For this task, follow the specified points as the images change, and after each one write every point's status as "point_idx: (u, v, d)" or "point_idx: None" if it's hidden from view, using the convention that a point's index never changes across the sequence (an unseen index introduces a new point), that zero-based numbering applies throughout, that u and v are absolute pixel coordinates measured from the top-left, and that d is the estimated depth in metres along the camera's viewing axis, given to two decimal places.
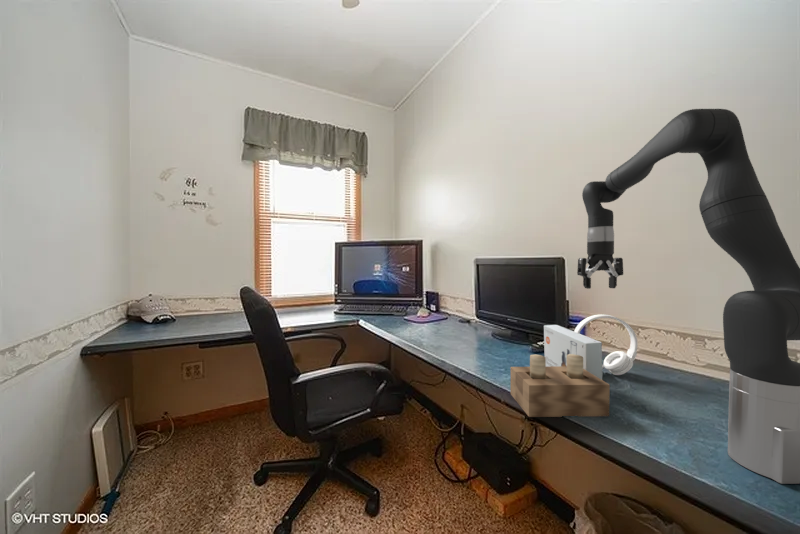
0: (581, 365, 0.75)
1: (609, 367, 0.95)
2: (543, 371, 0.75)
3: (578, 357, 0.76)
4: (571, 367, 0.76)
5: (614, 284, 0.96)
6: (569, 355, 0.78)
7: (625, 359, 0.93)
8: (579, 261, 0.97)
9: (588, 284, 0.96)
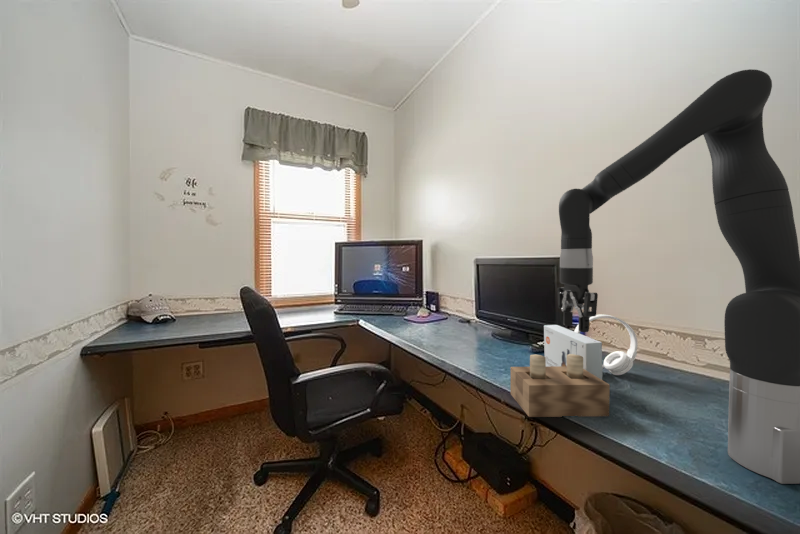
0: (581, 365, 0.75)
1: (609, 367, 0.95)
2: (543, 371, 0.75)
3: (578, 357, 0.76)
4: (571, 367, 0.76)
5: None
6: (569, 355, 0.78)
7: (625, 359, 0.93)
8: (591, 298, 0.69)
9: None
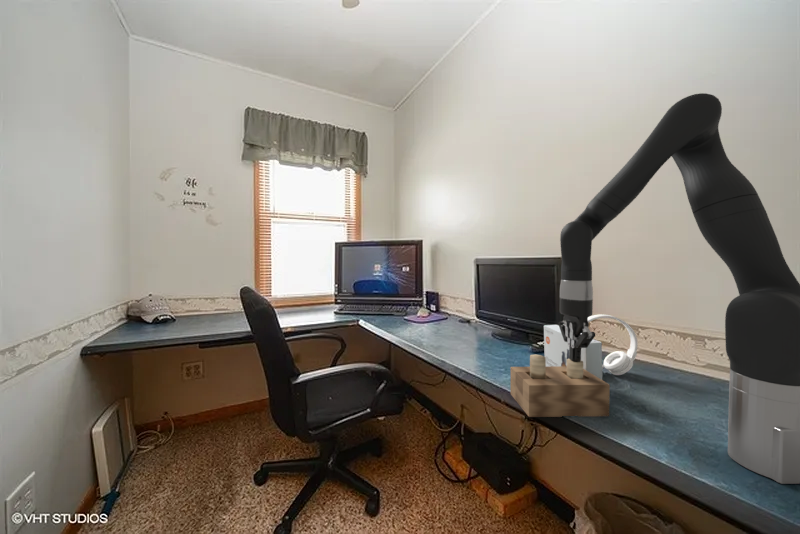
0: (581, 370, 0.75)
1: (609, 367, 0.95)
2: (543, 371, 0.75)
3: None
4: (571, 371, 0.76)
5: None
6: (569, 359, 0.78)
7: (625, 359, 0.93)
8: (587, 338, 0.71)
9: None
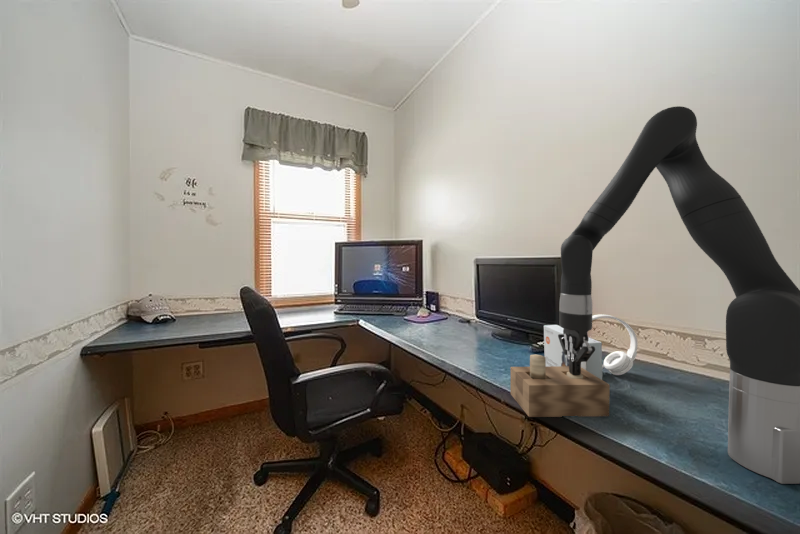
0: None
1: (609, 367, 0.95)
2: (543, 371, 0.75)
3: (578, 375, 0.76)
4: None
5: None
6: (569, 373, 0.78)
7: (625, 359, 0.93)
8: (587, 352, 0.71)
9: None
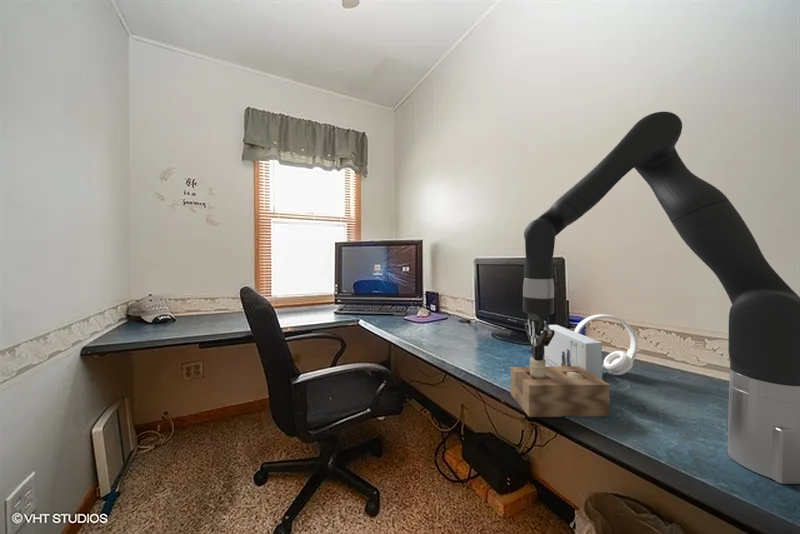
0: None
1: (609, 367, 0.95)
2: (543, 373, 0.75)
3: (578, 375, 0.76)
4: None
5: None
6: (569, 373, 0.78)
7: (625, 359, 0.93)
8: (547, 336, 0.71)
9: None
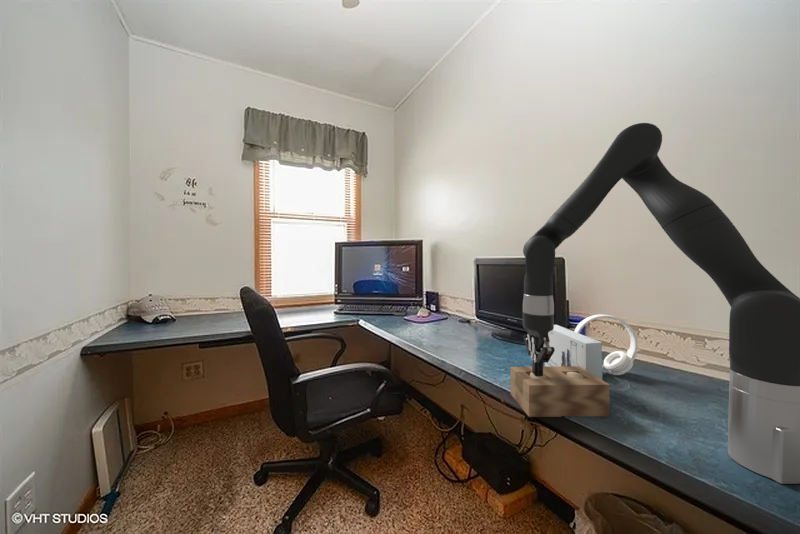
0: None
1: (609, 367, 0.95)
2: None
3: (578, 375, 0.76)
4: None
5: None
6: (569, 373, 0.78)
7: (625, 359, 0.93)
8: (547, 353, 0.71)
9: None
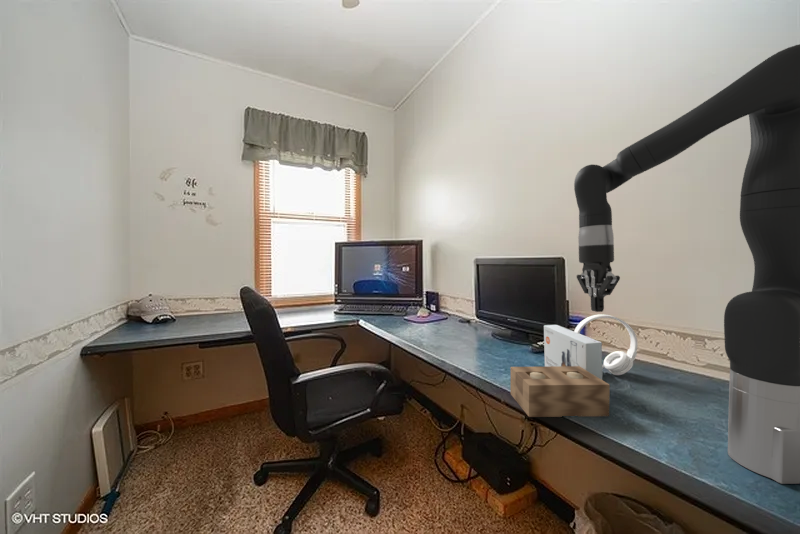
0: None
1: (609, 367, 0.95)
2: None
3: (578, 375, 0.76)
4: None
5: None
6: (569, 373, 0.78)
7: (625, 359, 0.93)
8: (611, 282, 0.68)
9: None
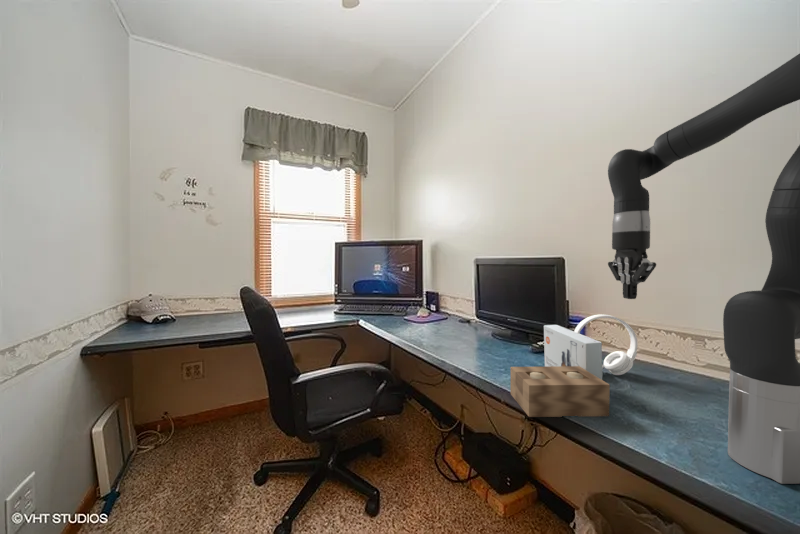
0: None
1: (609, 367, 0.95)
2: None
3: (578, 375, 0.76)
4: None
5: None
6: (569, 373, 0.78)
7: (625, 359, 0.93)
8: (647, 268, 0.67)
9: None
